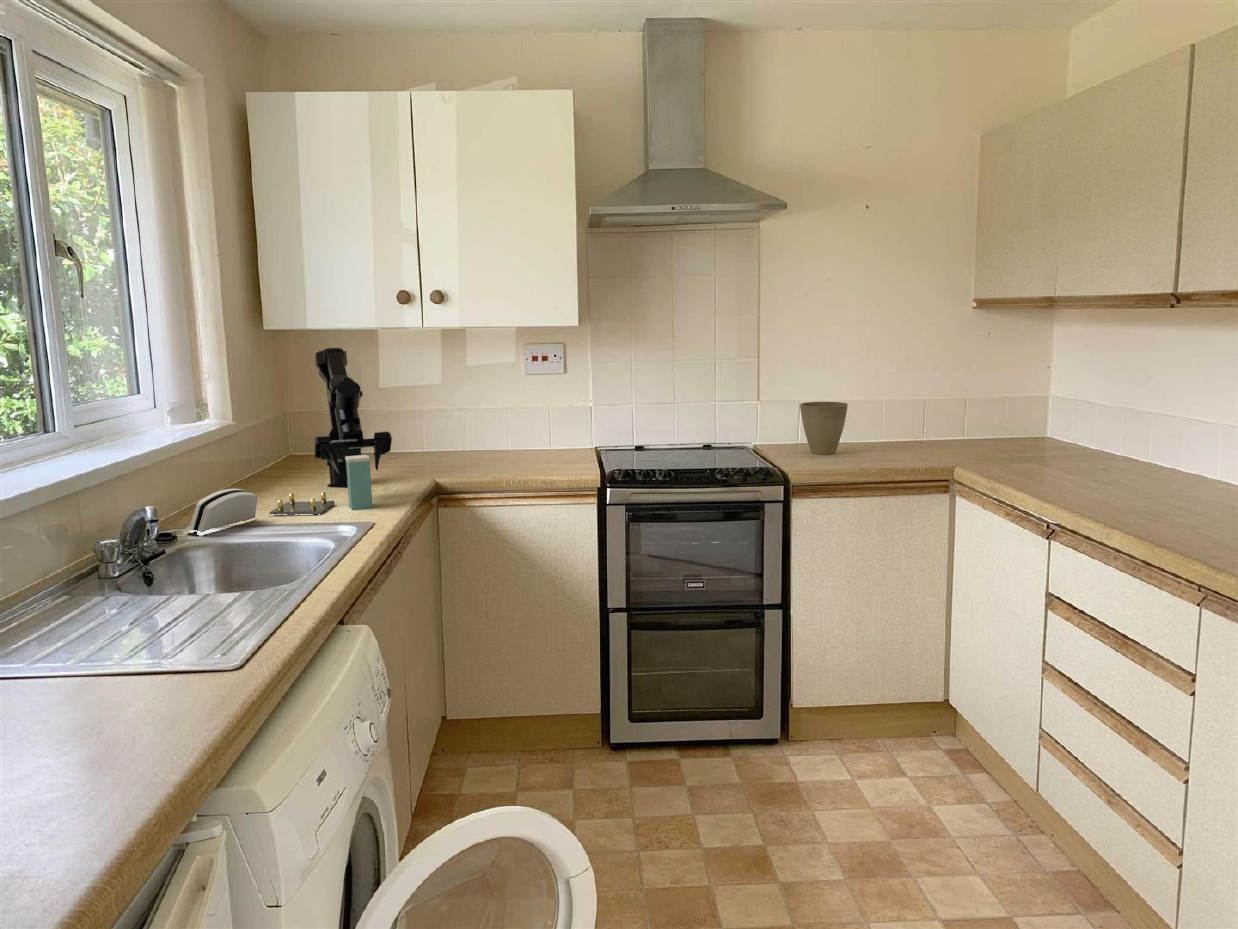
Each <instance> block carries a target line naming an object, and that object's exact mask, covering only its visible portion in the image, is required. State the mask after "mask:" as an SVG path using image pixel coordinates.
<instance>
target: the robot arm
mask: <svg viewBox="0 0 1238 929" xmlns="http://www.w3.org/2000/svg"><path fill="white" fill-rule="evenodd" d="M347 365H348V357H347V351H346V350H343V348H340V347H326V348H324V349H323V350H320V351H317V352H315V354H314V366H315V368H317V370H318V371H317V372H318V376H319V377H320V379H322V381H323V382H324V383H325V388H326V389H325V390H326V397H327V406H328V414H329V422H330V424H329V425H330V431H329V434H328V435H323V436H322V435H321V436H315V437H314V439H313V453H314V455H313V456H314V458H316V459H320V460H324V461H325V465H326V466H327V467H329V481H330V483H328V484H327V487H333V488H334V487H335V488H337V487H339V488H348V484H347V470H346V460H345V456H357V455H362V449H364V448H373V456H374V468H375V471H378V470H379V465H380V464H379V463H380V459H381V456H382V455H385V454H387V453H389V452H391V447H392V440H393V438H392V433H391V432H389V431H377V432H374V435H373V437H372V438H364V434H363V433H364V432H363V429H362V424H361V419H360V414H359V406H360V400H361V398H362V397H363V394H364V393H363V391H362V390H361V385H359V384H358V383H357V382H356V381H355V380H354V379H353V378H351V377H349V375H348V373H347V369H346V367H347Z"/></svg>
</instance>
